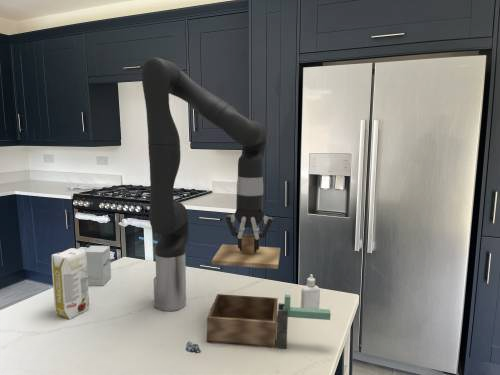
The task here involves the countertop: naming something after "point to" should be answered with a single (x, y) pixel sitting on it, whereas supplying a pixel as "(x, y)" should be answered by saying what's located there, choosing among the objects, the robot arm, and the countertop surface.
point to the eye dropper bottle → (310, 294)
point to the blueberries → (192, 348)
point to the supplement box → (98, 265)
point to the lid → (247, 255)
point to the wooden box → (247, 321)
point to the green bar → (305, 311)
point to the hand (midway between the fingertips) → (248, 250)
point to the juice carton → (70, 282)
